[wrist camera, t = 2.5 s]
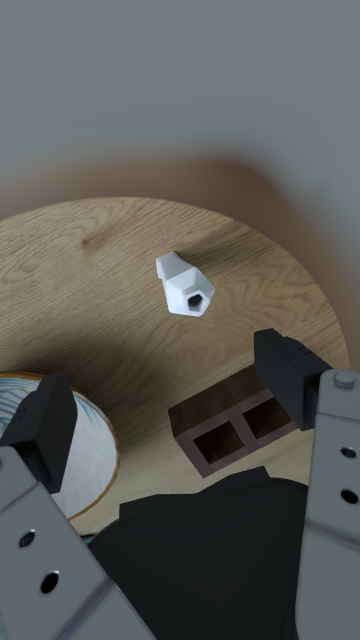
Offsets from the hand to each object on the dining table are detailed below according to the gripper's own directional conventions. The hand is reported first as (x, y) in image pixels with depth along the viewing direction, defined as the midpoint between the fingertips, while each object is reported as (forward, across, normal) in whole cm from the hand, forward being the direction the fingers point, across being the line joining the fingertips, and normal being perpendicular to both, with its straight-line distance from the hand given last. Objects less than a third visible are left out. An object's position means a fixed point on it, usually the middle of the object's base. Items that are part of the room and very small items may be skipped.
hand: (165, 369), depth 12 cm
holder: (+26, -10, +25) cm, 37 cm away
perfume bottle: (+26, -4, +1) cm, 26 cm away
